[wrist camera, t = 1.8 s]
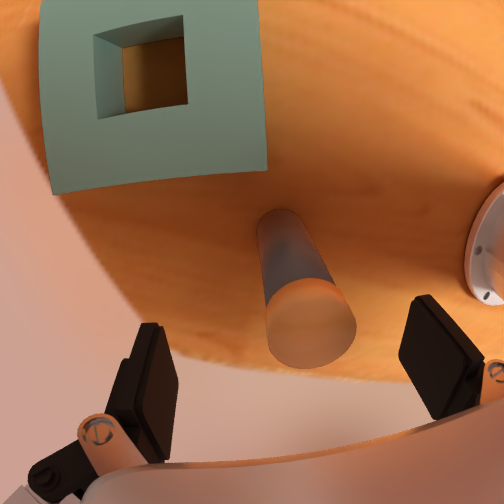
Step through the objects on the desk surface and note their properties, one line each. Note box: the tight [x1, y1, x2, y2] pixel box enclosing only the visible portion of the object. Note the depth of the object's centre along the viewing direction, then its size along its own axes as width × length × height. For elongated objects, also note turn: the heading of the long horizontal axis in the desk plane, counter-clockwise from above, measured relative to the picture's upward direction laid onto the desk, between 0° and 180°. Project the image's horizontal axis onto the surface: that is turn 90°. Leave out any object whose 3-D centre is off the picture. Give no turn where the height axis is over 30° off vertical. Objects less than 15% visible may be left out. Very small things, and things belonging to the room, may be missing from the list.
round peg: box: [257, 209, 356, 369], centre depth 17 cm, size 3×3×11 cm
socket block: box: [39, 0, 268, 195], centre depth 15 cm, size 12×12×4 cm
